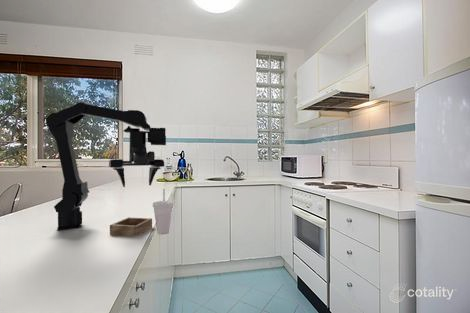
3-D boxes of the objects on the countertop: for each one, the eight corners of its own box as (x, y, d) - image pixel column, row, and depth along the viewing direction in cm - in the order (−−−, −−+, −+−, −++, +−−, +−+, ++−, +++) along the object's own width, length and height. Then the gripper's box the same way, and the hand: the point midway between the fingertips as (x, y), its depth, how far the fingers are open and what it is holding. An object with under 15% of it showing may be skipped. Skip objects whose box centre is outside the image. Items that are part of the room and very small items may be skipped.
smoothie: (177, 230, 77) (177, 188, 77) (165, 237, 71) (165, 191, 71) (161, 228, 79) (160, 187, 79) (148, 234, 73) (147, 190, 73)
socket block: (109, 234, 73) (109, 225, 73) (128, 225, 83) (128, 217, 82) (136, 236, 72) (136, 226, 72) (152, 227, 81) (152, 218, 81)
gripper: (112, 142, 76) (112, 190, 76) (169, 145, 87) (168, 187, 87) (108, 144, 85) (108, 186, 85) (160, 145, 96) (159, 183, 96)
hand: (137, 186), depth 88 cm, fingers open, 9 cm apart
